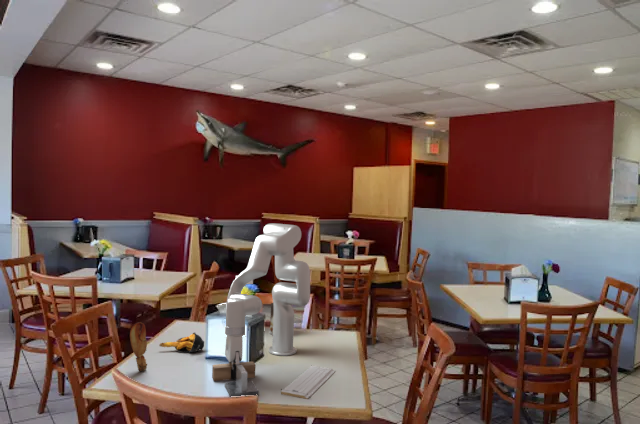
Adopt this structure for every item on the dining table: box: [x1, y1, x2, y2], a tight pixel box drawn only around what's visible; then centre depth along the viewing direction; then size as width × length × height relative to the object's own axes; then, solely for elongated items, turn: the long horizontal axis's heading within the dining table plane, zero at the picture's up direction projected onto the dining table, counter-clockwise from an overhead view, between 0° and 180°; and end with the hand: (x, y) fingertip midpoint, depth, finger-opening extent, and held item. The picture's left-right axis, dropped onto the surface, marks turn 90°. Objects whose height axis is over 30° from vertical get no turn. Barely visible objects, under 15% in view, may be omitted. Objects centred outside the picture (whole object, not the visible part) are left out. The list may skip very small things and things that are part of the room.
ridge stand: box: [224, 365, 260, 397], centre depth 184 cm, size 11×10×8 cm
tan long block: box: [211, 361, 256, 382], centre depth 197 cm, size 4×16×5 cm, turn 111°
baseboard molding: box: [280, 365, 336, 400], centre depth 196 cm, size 31×3×12 cm
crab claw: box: [129, 321, 148, 372], centre depth 199 cm, size 7×5×20 cm
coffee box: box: [269, 302, 274, 336], centre depth 259 cm, size 9×6×16 cm
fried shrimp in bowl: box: [159, 332, 205, 354], centre depth 225 cm, size 9×11×18 cm
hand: (233, 376), depth 197 cm, fingers closed on tan long block, 4 cm apart
